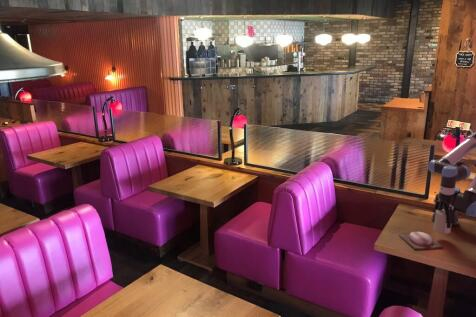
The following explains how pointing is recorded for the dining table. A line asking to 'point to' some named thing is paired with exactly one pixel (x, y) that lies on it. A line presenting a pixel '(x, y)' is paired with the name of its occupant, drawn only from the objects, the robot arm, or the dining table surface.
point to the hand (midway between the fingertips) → (441, 228)
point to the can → (440, 221)
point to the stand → (420, 241)
